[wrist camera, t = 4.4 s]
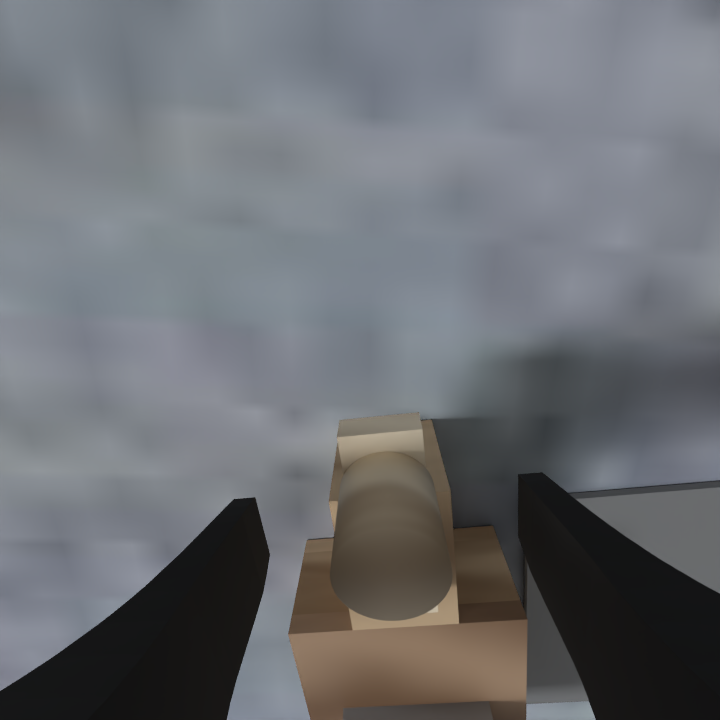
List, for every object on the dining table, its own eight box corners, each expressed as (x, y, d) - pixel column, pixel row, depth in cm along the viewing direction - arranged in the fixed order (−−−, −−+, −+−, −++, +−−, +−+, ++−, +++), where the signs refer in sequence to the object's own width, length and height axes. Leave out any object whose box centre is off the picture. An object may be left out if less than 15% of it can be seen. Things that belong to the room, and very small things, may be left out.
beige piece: (439, 586, 15) (462, 713, 11) (361, 591, 15) (358, 719, 11) (425, 411, 13) (447, 500, 9) (333, 420, 13) (316, 511, 9)
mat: (743, 685, 23) (749, 693, 23) (523, 696, 24) (525, 703, 24) (803, 474, 18) (812, 479, 18) (525, 497, 19) (528, 502, 19)
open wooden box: (496, 680, 24) (525, 791, 19) (339, 688, 24) (331, 798, 20) (490, 413, 18) (529, 484, 13) (283, 433, 19) (255, 507, 14)
